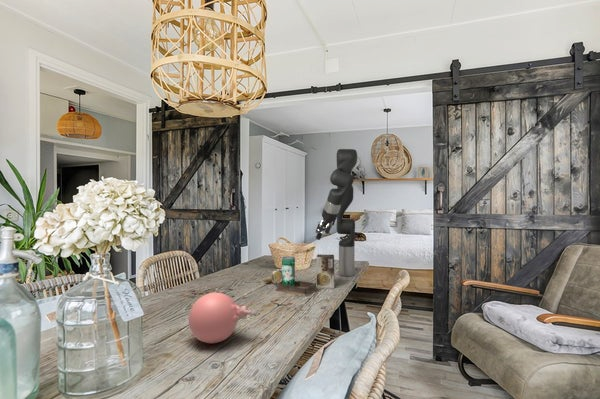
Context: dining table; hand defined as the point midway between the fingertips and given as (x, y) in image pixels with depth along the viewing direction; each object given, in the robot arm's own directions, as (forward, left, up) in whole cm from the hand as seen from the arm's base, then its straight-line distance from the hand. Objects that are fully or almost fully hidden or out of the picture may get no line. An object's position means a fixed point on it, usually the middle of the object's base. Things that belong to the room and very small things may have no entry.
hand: (322, 235), depth 166 cm
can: (+10, -14, -26) cm, 31 cm away
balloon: (+71, -1, -27) cm, 76 cm away
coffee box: (-4, 0, -27) cm, 27 cm away
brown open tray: (+10, -9, -27) cm, 30 cm away
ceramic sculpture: (+4, -24, -27) cm, 36 cm away
